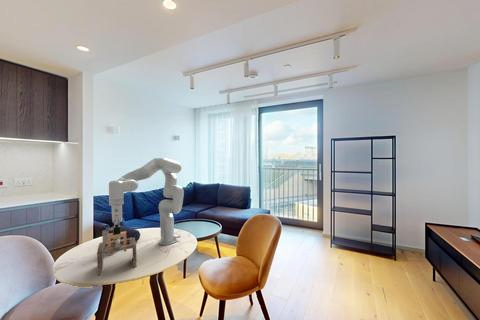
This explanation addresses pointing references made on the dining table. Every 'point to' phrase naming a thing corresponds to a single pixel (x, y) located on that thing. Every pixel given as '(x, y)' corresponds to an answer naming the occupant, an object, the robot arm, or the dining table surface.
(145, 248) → the dining table surface
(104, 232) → the coffee box
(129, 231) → the portable speaker
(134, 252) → the shelf
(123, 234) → the tan and grey block
